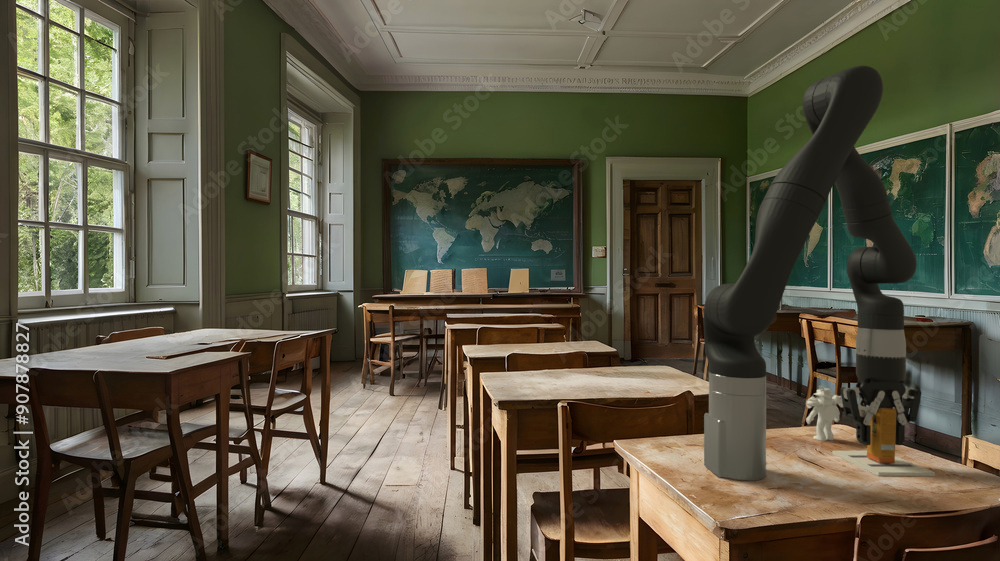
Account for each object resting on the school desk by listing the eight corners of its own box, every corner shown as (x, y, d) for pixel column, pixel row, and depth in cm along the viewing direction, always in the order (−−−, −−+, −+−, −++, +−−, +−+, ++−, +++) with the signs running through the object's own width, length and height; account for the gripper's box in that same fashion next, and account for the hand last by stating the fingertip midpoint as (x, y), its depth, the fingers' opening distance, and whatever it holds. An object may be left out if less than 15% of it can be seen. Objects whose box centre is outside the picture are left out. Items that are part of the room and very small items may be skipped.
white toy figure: (815, 443, 109) (815, 386, 109) (800, 438, 113) (800, 382, 113) (848, 440, 112) (848, 384, 112) (832, 435, 115) (832, 381, 116)
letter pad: (878, 475, 90) (878, 472, 90) (832, 453, 102) (832, 450, 102) (934, 475, 90) (934, 472, 90) (882, 453, 102) (882, 450, 102)
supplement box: (897, 463, 95) (898, 408, 95) (879, 463, 95) (879, 408, 95) (883, 458, 98) (884, 404, 98) (865, 457, 98) (866, 404, 98)
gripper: (856, 355, 93) (856, 450, 92) (935, 355, 93) (935, 450, 93) (829, 350, 100) (829, 438, 100) (901, 350, 101) (902, 438, 100)
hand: (880, 443), depth 96 cm, fingers open, 5 cm apart
